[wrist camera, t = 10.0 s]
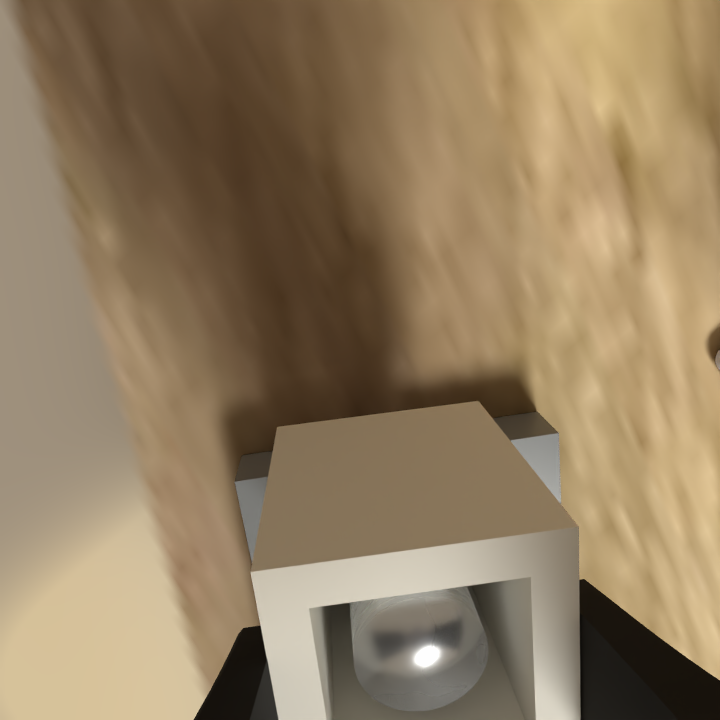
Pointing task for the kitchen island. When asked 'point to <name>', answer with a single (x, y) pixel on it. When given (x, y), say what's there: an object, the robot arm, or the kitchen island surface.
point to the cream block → (415, 560)
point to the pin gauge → (418, 648)
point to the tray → (522, 430)
